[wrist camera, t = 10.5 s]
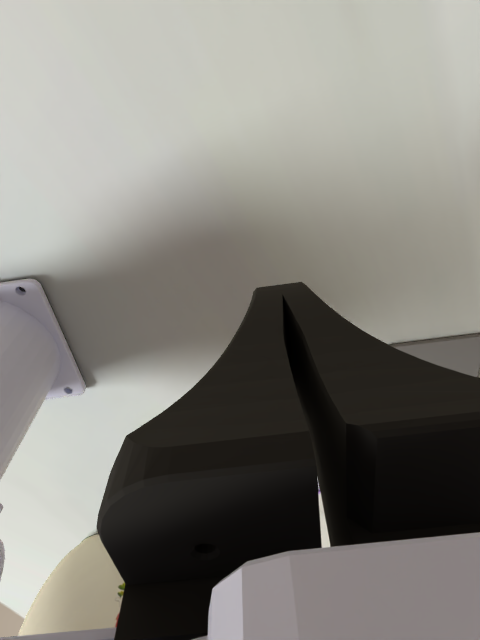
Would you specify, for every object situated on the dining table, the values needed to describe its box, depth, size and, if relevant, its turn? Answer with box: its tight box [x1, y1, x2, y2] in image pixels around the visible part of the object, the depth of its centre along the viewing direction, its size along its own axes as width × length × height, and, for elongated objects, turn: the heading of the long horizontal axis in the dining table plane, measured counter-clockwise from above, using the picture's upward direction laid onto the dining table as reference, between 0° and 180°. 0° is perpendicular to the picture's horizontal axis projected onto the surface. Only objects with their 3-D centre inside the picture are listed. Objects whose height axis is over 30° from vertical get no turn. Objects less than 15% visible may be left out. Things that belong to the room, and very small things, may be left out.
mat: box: [390, 334, 480, 377], centre depth 28 cm, size 6×14×1 cm, turn 8°
